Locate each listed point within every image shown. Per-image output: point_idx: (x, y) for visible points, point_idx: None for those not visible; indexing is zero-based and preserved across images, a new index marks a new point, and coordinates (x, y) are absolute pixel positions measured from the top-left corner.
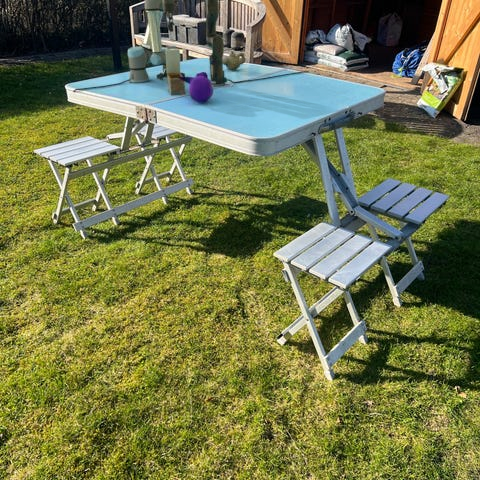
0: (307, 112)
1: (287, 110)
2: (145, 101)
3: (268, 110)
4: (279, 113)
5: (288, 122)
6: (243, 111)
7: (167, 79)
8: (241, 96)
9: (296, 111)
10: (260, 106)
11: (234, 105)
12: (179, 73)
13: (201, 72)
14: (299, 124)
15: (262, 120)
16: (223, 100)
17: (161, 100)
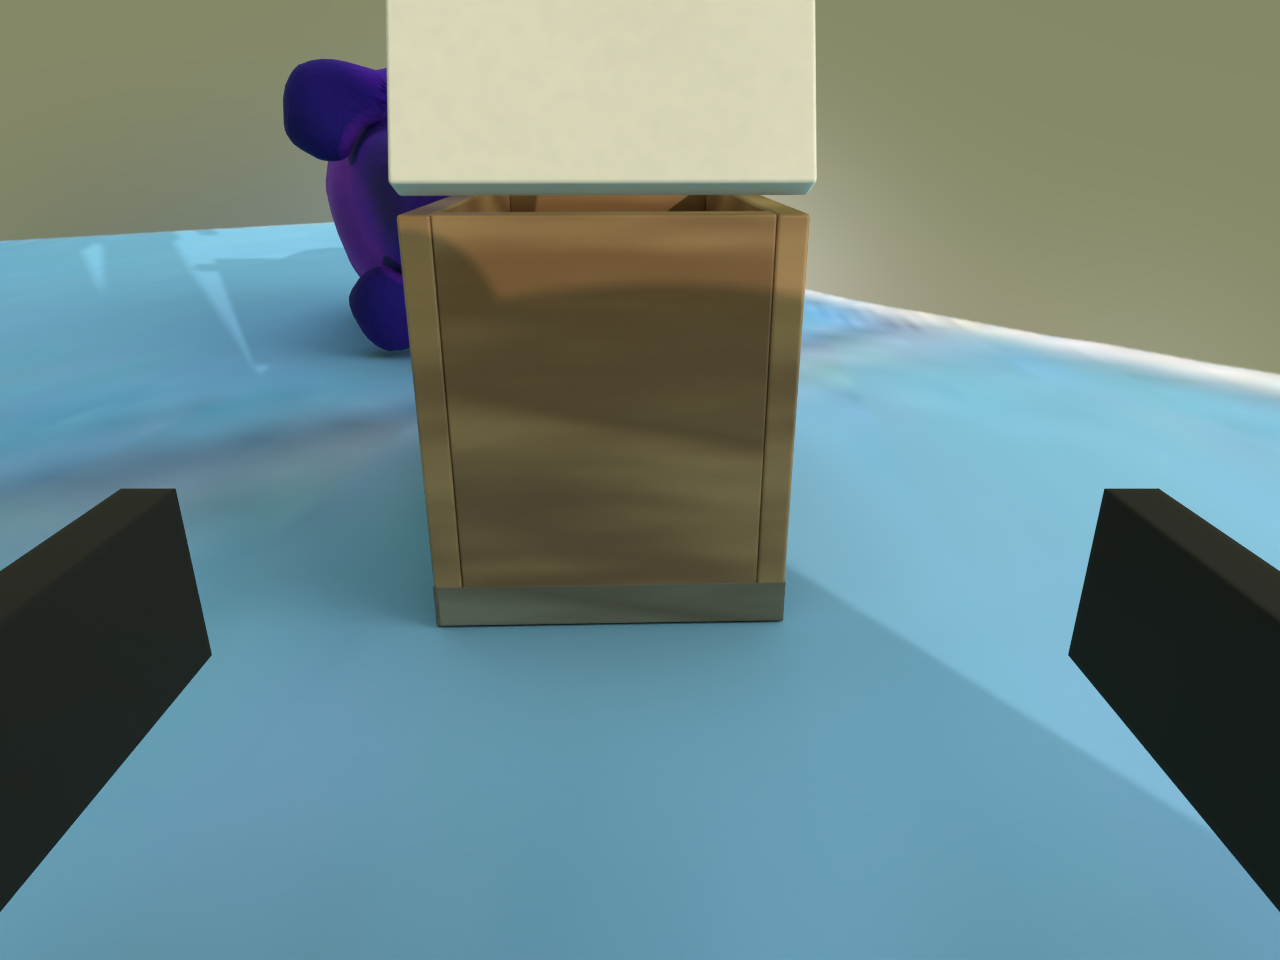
0: (65, 247)
1: (109, 255)
2: (997, 360)
3: (191, 259)
4: (189, 250)
5: (263, 233)
6: (320, 262)
7: (797, 357)
8: (4, 342)
9: (90, 251)
10: (159, 274)
11: (283, 286)
12: (426, 214)
13: (350, 63)
14: (247, 229)
15: (334, 239)
16: (260, 319)
17: (824, 358)
